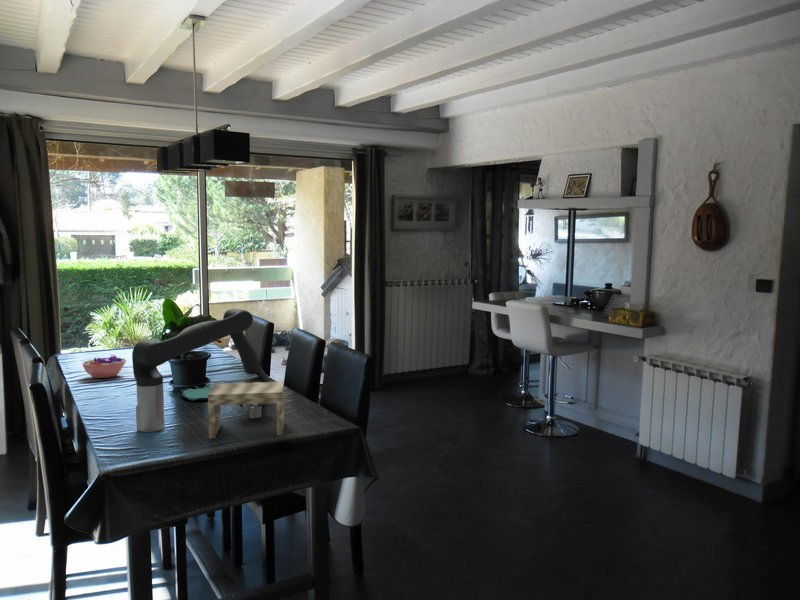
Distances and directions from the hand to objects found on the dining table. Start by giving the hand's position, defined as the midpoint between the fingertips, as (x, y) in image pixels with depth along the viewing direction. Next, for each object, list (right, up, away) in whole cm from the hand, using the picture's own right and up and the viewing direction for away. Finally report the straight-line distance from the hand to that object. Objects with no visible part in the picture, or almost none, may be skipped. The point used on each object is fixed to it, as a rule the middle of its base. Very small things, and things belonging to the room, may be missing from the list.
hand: (250, 404), depth 239 cm
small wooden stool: (+1, -8, -9) cm, 12 cm away
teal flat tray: (-32, -3, +42) cm, 53 cm away
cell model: (-91, +1, +71) cm, 115 cm away
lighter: (0, -6, +3) cm, 7 cm away
